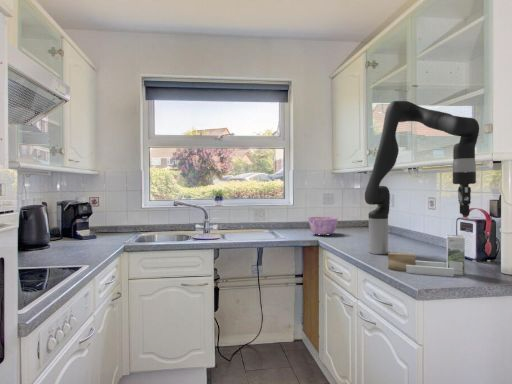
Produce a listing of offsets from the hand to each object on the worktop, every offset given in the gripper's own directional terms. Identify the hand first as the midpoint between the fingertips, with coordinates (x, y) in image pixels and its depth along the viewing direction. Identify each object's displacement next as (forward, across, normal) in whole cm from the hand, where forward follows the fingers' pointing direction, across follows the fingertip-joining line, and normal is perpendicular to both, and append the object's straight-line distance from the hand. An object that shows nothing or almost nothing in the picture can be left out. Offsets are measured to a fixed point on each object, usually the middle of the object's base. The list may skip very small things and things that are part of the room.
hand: (464, 214), depth 135 cm
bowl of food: (+22, -87, -75) cm, 117 cm away
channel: (+22, 0, -14) cm, 27 cm away
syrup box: (+23, 0, -3) cm, 23 cm away
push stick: (+22, 0, -22) cm, 31 cm away
